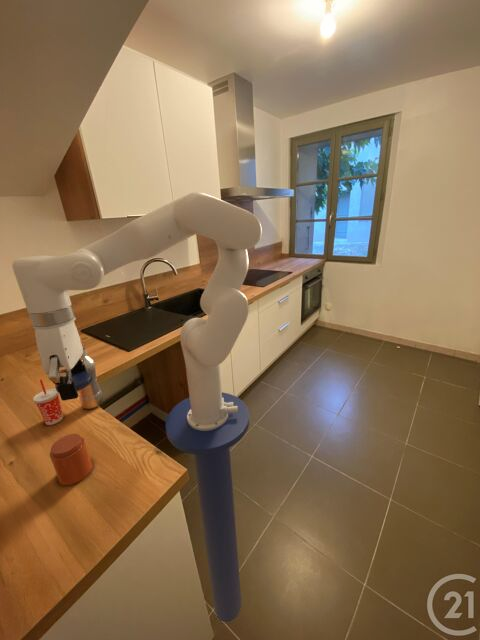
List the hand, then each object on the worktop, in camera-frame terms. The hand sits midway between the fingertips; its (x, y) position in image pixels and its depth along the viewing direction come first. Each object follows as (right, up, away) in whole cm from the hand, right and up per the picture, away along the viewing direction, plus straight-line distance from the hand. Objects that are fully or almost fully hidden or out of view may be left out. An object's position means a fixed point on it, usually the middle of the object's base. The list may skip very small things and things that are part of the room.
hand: (76, 388), depth 60 cm
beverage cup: (-19, -15, +20) cm, 31 cm away
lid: (0, +2, -1) cm, 2 cm away
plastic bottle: (-10, -12, +26) cm, 30 cm away
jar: (-1, -20, +1) cm, 20 cm away
